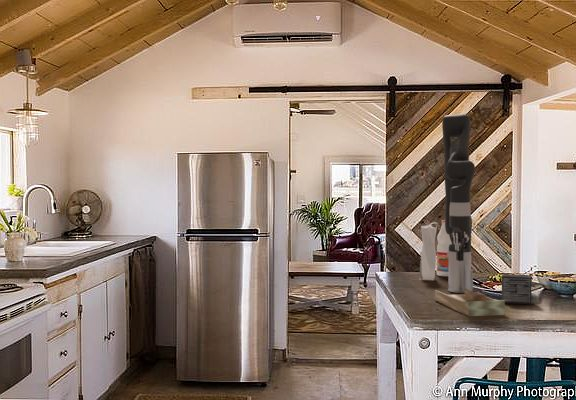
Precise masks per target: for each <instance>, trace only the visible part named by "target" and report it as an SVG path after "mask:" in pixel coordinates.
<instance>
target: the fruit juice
mask: <svg viewBox="0 0 576 400" xmlns="http://www.w3.org/2000/svg"><path fill="white" fill-rule="evenodd" d="M440 227H441V228H440V229H439V231H438V233H437V234H436V240H437V246H436V275H437V276H438V277H439V276H440V277H448V272H449V245H450V244H452V243H451V240H450V237H449V235H448V234H447V233H446V230H445V219H441V226H440Z"/></svg>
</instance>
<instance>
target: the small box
mask: <svg viewBox="0 0 576 400" xmlns="http://www.w3.org/2000/svg"><path fill="white" fill-rule="evenodd" d="M501 300H505V304H513V305H514V304H517V305H519V304H520V305H532V304H533V303H532V277H531V275H529V274H528V275H527V274H526V275H523V274H501Z"/></svg>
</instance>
